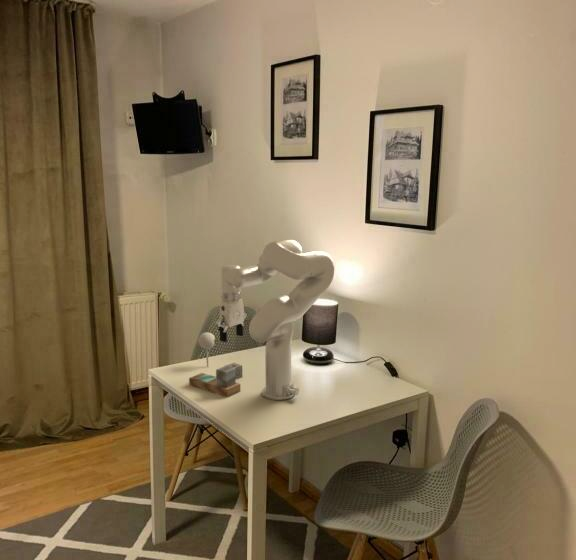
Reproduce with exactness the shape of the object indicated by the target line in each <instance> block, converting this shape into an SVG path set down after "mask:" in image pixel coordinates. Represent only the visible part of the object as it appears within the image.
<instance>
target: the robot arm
mask: <svg viewBox="0 0 576 560" xmlns="http://www.w3.org/2000/svg"><path fill="white" fill-rule="evenodd" d="M220 269H221V274H220V275H221V277H220V278H221V297H220V298H221V301H220V308H219V318H217V320H216V322H215V326H216V329H217V330H218V332H219V341H221V342H223V343H227V342H228V333H227V329H228V328H231V327H234V326H235V332H236V333H235V334H236V336H240V337H243V336H244V326H245V323H246V320H247V319H246V318H247V315H248V314H247V313H246V312H245V307H244V301H243V298H242V289H243V288H247V287H251V286H256V285H260V284H263V283H265V282H266V281H269V280H270V279H273V277H275V275H276V274H277V273H280V274H282V275H284V276H286V277H288V278H289V279H292V280H296V281H300V280H301V281H300V282H298V284H297V285H296V286H295V287H294V288H293V289H292V290H291V291H289V293H287V294H284V295H279V296H275V297H272V298H270V299H269V300H267V301H266V302H265V303H264V304H263V305H262V306H261V308H260V309H259V310H258V311H257V312H256V313H255V314H254V315H253V317H252V318H251V320H250V322H249V326H248V332H249V335H250V337H251V338H252V340H254V341H255V342H258V343H265V342H266V345H265V357H264V358H265V387H263V388H262V390H261V395H262V396H263V398H266V399H269V400H273V401H275V400H276V401H283V400H289V399H292V398H294V396H298V395H299V392H300V388H298V387H296V386H295V385H294V384H295V383H294V382H292V345H293V344H292V340H293V334H294V329H295V322H296V321H298V320H300V319H301V318H302V317H303V316H304V315H305V314H306V313H307V312H308V311H309V310H310V308H311V307H312V306H313V305H314V304H315V303H316V302H317V300H319V298H320V297H321V296H322V295H323V294H324V293H325V292H326V291H327V290H328V288H330V285H331V284H332V283H333V279H334V275H335V263H334V260H333V258H332V256H331V255H330V254H329V253H327V252H325V251H322V250H321V251H320V250H316V251H309V252H307V251H306V252H303V249H302V246H301V245H300V243H299V242H297V241H296V240H294V239H283V240H275V241H271V242H269V243H267V244H266V245H265V246H264V248H263V250H262V253H261V254H260V255H259V257H258V264H253V265H248V266H243V267H241V266H240V265H238V264H224V265H223V266H222V267H221V268H220Z"/></svg>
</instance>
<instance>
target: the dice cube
mask: <svg viewBox="0 0 576 560" xmlns="http://www.w3.org/2000/svg"><path fill="white" fill-rule="evenodd" d="M224 366H228V367H231V368H235V378H236V380H239V379H242V378H243V365H242V364H239V363H236V362H232V363H229V364H226V365H224Z"/></svg>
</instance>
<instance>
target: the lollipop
mask: <svg viewBox="0 0 576 560" xmlns="http://www.w3.org/2000/svg"><path fill="white" fill-rule="evenodd" d="M197 342H198V345H199V347H200V348H201V349H203V350H206V353H205V354H206V368H208V367H209V350H210V349H212V348H213V347H215V344H216V337H215V335H214V334H213V333H211V332H207V331H205V332H203V333H201V334H200V335H199V337H198V341H197Z"/></svg>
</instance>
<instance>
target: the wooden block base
mask: <svg viewBox="0 0 576 560" xmlns="http://www.w3.org/2000/svg"><path fill="white" fill-rule="evenodd" d="M236 381H237V379H236V378H235V368H231V367H228V366H225V365H224V366H221V367H219V368H217V369H216V370H215V376H214V375H212V374H211V375H210V374H208V373H204V372H200V373H198V374H196V375H193V376H190V377H189V378H188V385H189V387H193V388H196V389H198V390H199V389H200V390H203V391H206V392H209V393H213V394H216V395H219V396H223V397H226V398H230V397H231V396H234V395H236V394H238V393H240V392H241V383H238V382H236Z"/></svg>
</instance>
